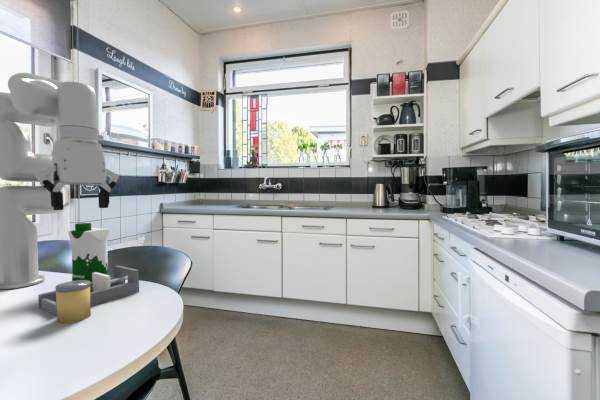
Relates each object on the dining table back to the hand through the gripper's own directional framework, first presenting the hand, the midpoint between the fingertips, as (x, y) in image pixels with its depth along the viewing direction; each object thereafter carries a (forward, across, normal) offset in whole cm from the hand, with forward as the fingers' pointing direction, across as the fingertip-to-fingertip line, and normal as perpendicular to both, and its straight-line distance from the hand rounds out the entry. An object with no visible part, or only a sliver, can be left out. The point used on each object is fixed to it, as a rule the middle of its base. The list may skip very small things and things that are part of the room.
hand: (82, 208), depth 73 cm
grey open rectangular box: (+25, -6, -11) cm, 28 cm away
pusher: (+25, -13, -11) cm, 30 cm away
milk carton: (+25, -12, -23) cm, 36 cm away
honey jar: (+26, +2, -1) cm, 26 cm away
